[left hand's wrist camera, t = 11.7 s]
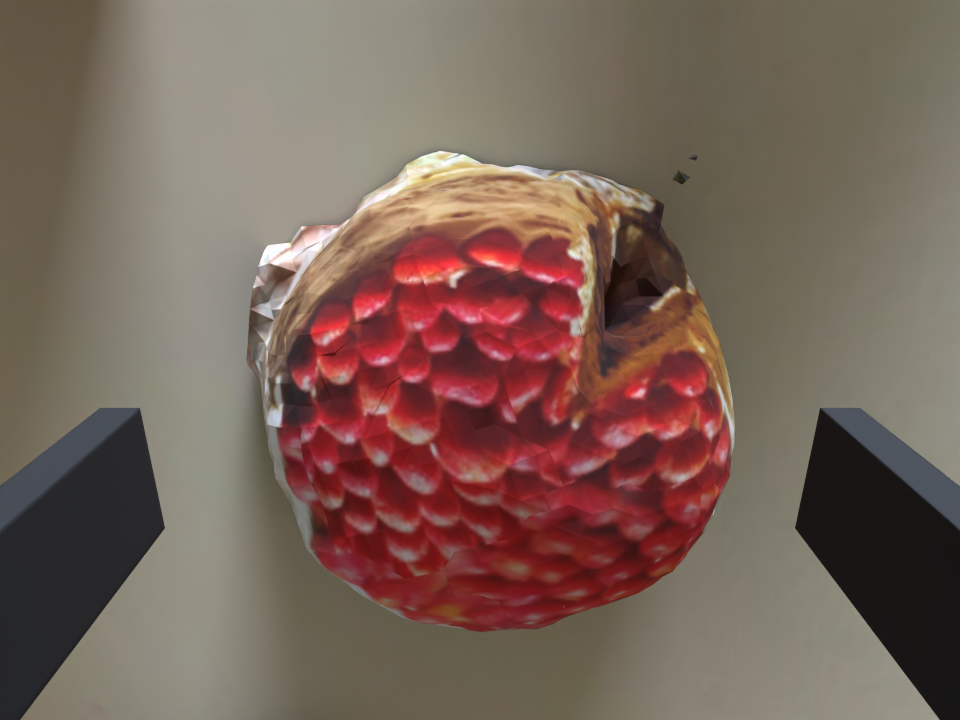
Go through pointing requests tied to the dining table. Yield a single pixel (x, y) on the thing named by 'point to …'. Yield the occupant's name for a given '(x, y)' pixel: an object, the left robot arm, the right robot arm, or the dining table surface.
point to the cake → (492, 393)
